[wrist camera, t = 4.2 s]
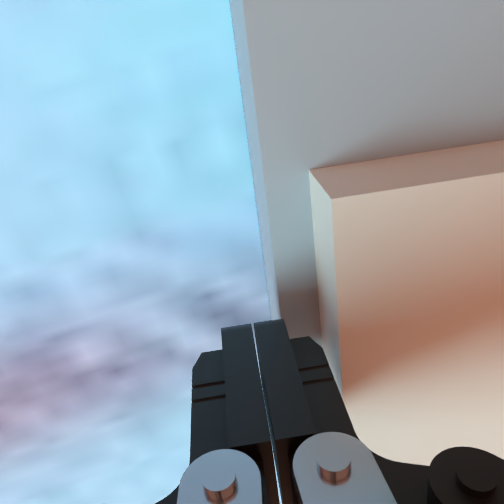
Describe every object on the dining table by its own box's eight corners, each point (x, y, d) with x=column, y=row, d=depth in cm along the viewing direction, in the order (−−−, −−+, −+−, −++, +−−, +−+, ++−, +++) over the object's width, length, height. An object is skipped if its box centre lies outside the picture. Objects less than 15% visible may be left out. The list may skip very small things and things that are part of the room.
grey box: (221, -60, 12) (230, -101, 8) (680, -123, 12) (882, -188, 9) (288, 449, 20) (308, 544, 16) (566, 401, 20) (646, 483, 16)
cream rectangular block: (308, 169, 10) (331, 198, 9) (571, 129, 11) (648, 149, 9) (328, 433, 14) (348, 493, 12) (525, 398, 14) (574, 453, 12)
